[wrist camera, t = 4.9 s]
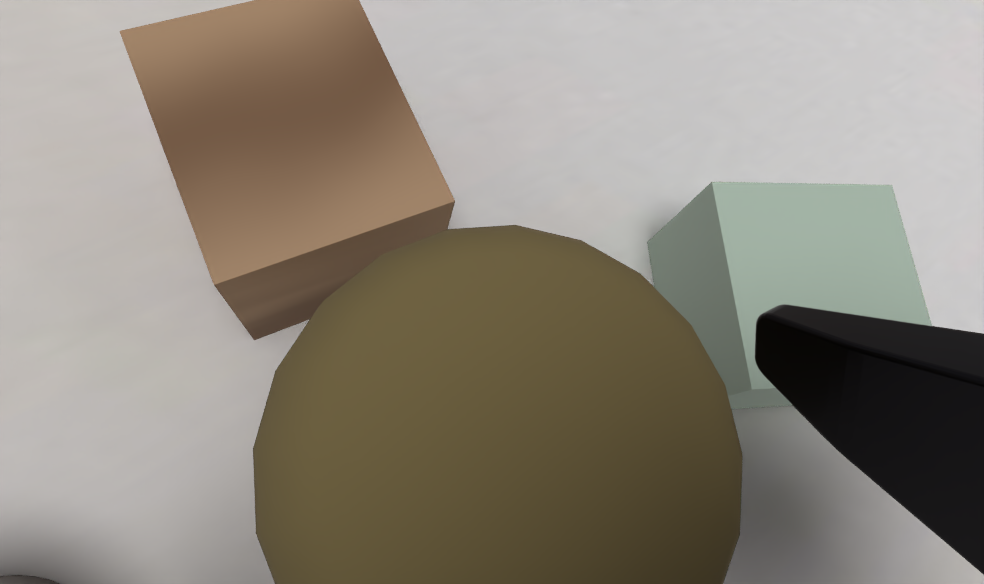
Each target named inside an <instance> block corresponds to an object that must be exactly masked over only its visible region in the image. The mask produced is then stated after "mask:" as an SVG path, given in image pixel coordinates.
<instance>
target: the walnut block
mask: <svg viewBox="0 0 984 584" xmlns="http://www.w3.org/2000/svg"><path fill="white" fill-rule="evenodd" d="M120 34H121V36H122V39H123V42H124V44H125V47H126V50H127V53H128V55H129V58H130V61H131V63H132V66H133V69H134V71H135V74H136V77H137V79H138V82H139V85H140V87H141V90H142V93H143V95H144V98H145V101H146V104H147V106H148V109H149V112H150V114H151V117H152V120H153V122H154V125H155V128H156V130H157V133H158V136H159V138H160V141H161V144H162V146H163V149H164V152H165V155H166V157H167V160H168V163H169V165H170V168H171V171H172V173H173V176H174V179H175V181H176V184H177V187H178V189H179V192H180V195H181V197H182V200H183V203H184V206H185V208H186V211H187V214H188V216H189V219H190V222H191V224H192V227H193V230H194V232H195V235H196V238H197V240H198V243H199V246H200V248H201V251H202V254H203V257H204V259H205V262H206V265H207V267H208V270H209V273H210V275H211V278H212V281H213V283H214V285H215V287H216V288H217V290H218V291H219V292H220V294H221V295H222V296H223V298H224V299H225V301H226V302H227V303H228V305H229V306H230V307H231V309H232V310H233V312H234V313H235V314H236V316H237V317H238V318H239V320H240V321H241V322H242V324H243V325H244V327H245V328H246V329H247V331H248V332H249V333H250V335H251V336H252V338H253V339H254V340H256V339H259V338H261V337H264V336H267V335H269V334H272V333H275V332H277V331H280V330H282V329H285V328H288V327H290V326H293V325H296V324H298V323H301V322H304V321H306V320H309V319H311V317H312V316H313V314H314V313H315V311H316V310H317V308H318V307H319V306H320V304H321V303H322V302H323V301H324V300H325V299H326V298H327V297H329V296H330V295H331V294H332V293H334V292H335V291H336V290H337V289H339V288H340V287H341V286H342V285H344V284H345V283H346V282H348V281H349V280H350V279H351V278H353V277H354V276H355V275H356V274H358V273H359V272H360V271H361V270H363V269H364V268H365V267H366V266H368V265H369V264H370V263H371V262H373V261H374V260H375V259H376V258H378V257H379V256H380V255H382V254H384V253H387V252H389V251H392V250H395V249H397V248H400V247H403V246H405V245H408V244H410V243H413V242H416V241H418V240H421V239H423V238H426V237H429V236H431V235H434V234H437V233H439V232H442V231H444V230H447V228H448V225H449V221H450V217H451V214H452V210H453V206H454V203H455V200H454V198H453V196H452V194H451V192H450V190H449V187H448V185H447V183H446V181H445V179H444V177H443V175H442V173H441V171H440V169H439V167H438V164H437V162H436V160H435V158H434V156H433V154H432V152H431V150H430V148H429V146H428V144H427V142H426V139H425V137H424V135H423V133H422V131H421V129H420V127H419V125H418V123H417V121H416V119H415V116H414V114H413V112H412V110H411V108H410V106H409V104H408V102H407V100H406V98H405V96H404V93H403V91H402V89H401V87H400V85H399V83H398V81H397V79H396V77H395V75H394V73H393V70H392V68H391V66H390V64H389V62H388V60H387V58H386V56H385V54H384V52H383V50H382V47H381V45H380V43H379V41H378V39H377V37H376V35H375V33H374V31H373V29H372V27H371V24H370V22H369V20H368V18H367V16H366V14H365V12H364V10H363V8H362V6H361V4H360V1H359V0H254V1H250V2H245V3H241V4H237V5H232V6H228V7H223V8H219V9H215V10H210V11H206V12H201V13H197V14H193V15H188V16H184V17H179V18H175V19H171V20H166V21H162V22H157V23H153V24H149V25H144V26H140V27H135V28H131V29H127V30H122V31H120Z"/></svg>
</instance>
